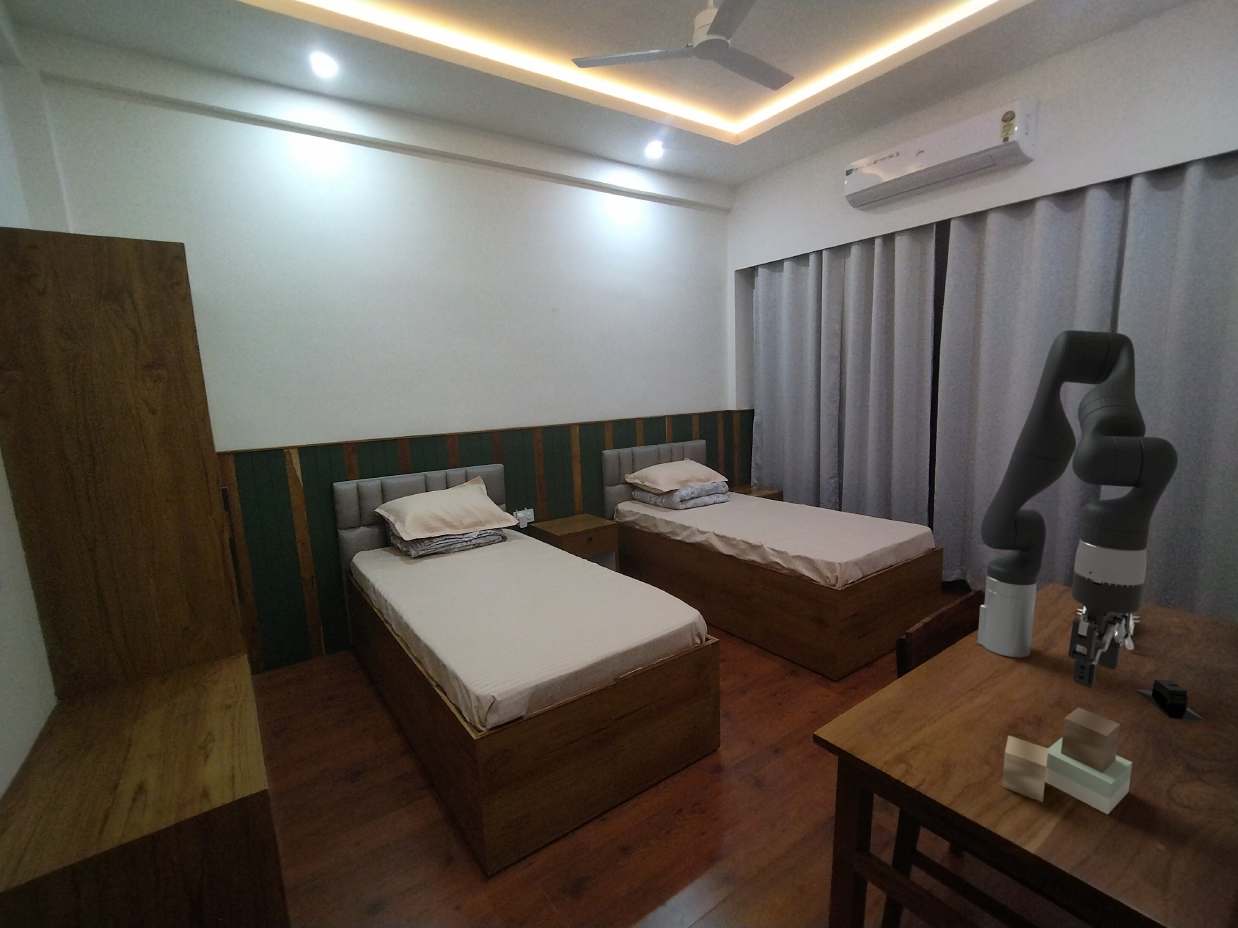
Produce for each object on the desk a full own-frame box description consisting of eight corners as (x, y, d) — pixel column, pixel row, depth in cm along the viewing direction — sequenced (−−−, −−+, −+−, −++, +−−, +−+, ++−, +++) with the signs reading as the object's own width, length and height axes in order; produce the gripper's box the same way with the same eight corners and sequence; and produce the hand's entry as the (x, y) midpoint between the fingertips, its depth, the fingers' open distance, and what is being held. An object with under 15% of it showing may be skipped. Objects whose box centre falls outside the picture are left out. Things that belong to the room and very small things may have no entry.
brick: (1001, 786, 82) (1004, 751, 81) (1005, 768, 86) (1008, 735, 85) (1042, 802, 79) (1046, 766, 78) (1044, 782, 83) (1048, 748, 82)
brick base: (1041, 779, 83) (1044, 751, 82) (1064, 760, 87) (1067, 733, 86) (1107, 814, 76) (1111, 783, 76) (1128, 791, 80) (1132, 762, 80)
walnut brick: (1060, 753, 82) (1064, 717, 81) (1074, 741, 84) (1078, 707, 84) (1102, 772, 78) (1106, 735, 77) (1115, 759, 80) (1119, 723, 79)
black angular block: (1218, 730, 94) (1222, 706, 93) (1169, 725, 96) (1172, 702, 95) (1165, 690, 106) (1168, 669, 105) (1122, 686, 108) (1124, 665, 107)
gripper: (1095, 556, 83) (1084, 651, 86) (1054, 575, 76) (1043, 678, 79) (1161, 570, 77) (1146, 672, 79) (1123, 592, 70) (1108, 704, 72)
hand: (1095, 675), depth 79 cm, fingers open, 8 cm apart
